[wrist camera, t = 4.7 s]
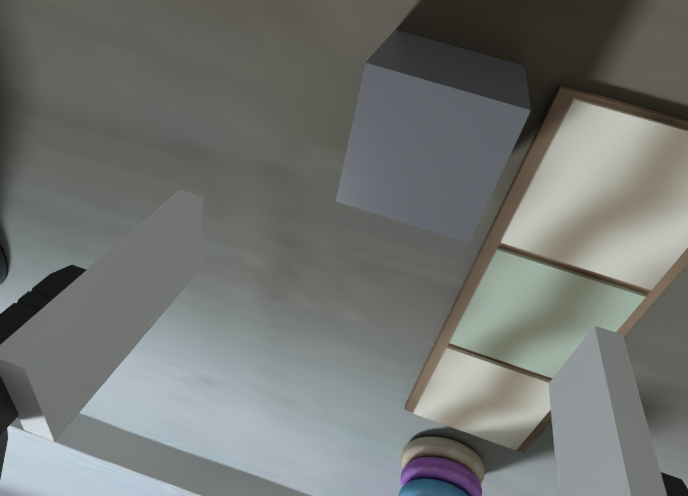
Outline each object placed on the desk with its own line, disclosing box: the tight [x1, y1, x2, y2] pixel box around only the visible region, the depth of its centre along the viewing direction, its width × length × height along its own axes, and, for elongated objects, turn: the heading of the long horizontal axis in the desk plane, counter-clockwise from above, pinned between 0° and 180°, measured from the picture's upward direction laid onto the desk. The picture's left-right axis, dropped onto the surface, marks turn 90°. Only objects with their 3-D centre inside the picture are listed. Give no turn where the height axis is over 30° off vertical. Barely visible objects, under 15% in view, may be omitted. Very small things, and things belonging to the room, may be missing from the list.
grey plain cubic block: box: [336, 30, 531, 244], centre depth 24 cm, size 7×7×7 cm
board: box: [404, 84, 688, 452], centre depth 32 cm, size 11×30×1 cm, turn 169°
